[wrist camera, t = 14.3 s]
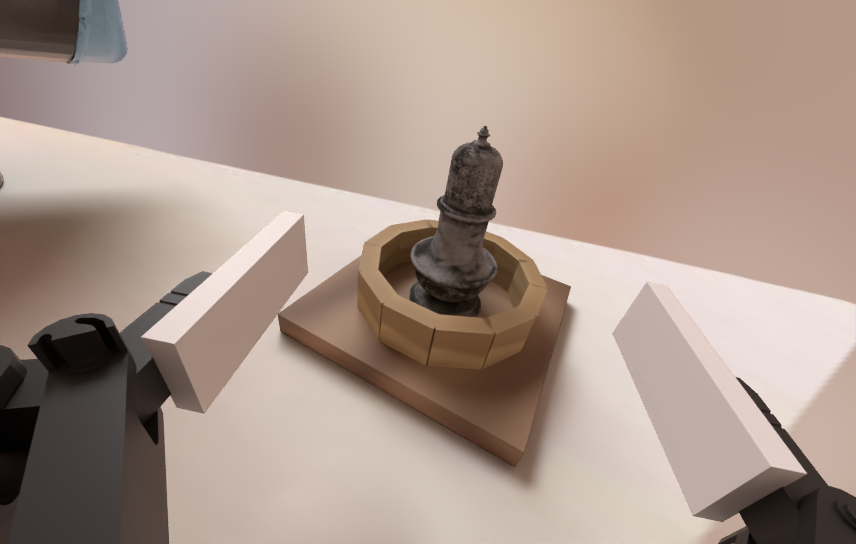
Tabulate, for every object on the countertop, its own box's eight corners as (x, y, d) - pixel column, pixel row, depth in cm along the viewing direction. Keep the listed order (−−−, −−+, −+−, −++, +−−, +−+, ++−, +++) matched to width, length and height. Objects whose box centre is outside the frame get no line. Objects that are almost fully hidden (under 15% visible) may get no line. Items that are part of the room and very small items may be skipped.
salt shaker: (499, 321, 24) (565, 146, 16) (419, 334, 21) (456, 140, 14) (464, 271, 28) (505, 115, 21) (395, 278, 26) (415, 107, 19)
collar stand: (280, 330, 22) (271, 275, 19) (405, 235, 34) (411, 194, 31) (514, 466, 17) (545, 418, 15) (564, 300, 29) (585, 257, 27)
